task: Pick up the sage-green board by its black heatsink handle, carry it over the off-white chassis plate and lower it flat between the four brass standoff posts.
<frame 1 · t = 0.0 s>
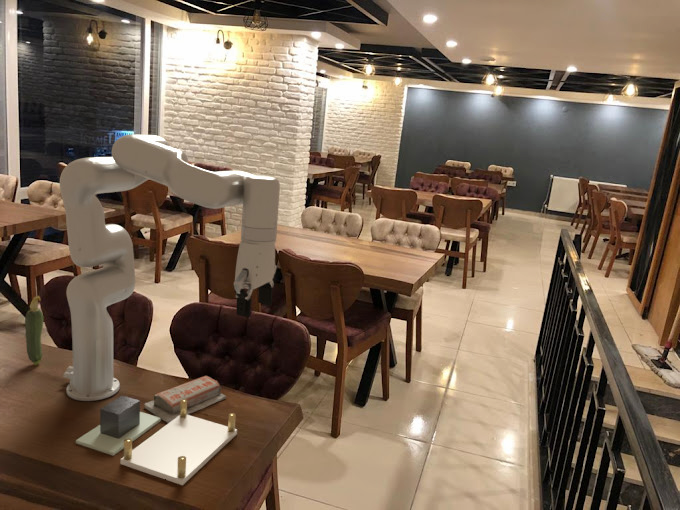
hand: (254, 309, 122), 31 cm above the table, tool pointing down, fingers open, 9 cm apart
chassis: (182, 448, 122), on the table
vegetable: (35, 364, 155), on the table
board: (120, 433, 127), on the table
packaged product: (186, 405, 142), on the table
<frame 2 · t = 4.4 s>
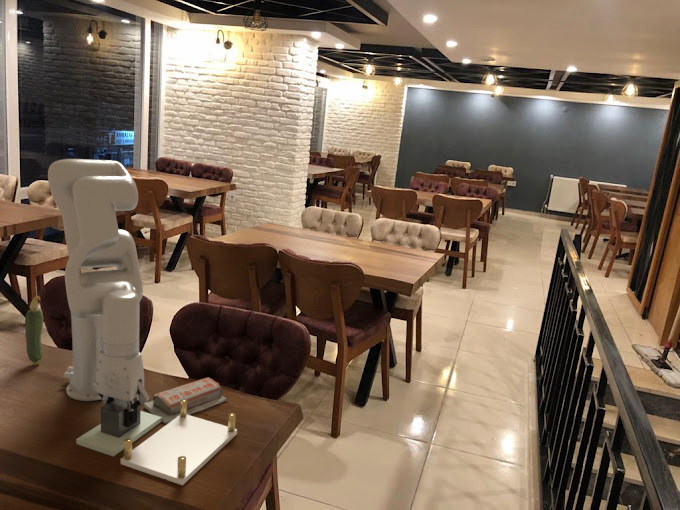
hand: (121, 420, 126), 3 cm above the table, tool pointing down, fingers closed on board, 5 cm apart
board: (121, 432, 126), on the table, touching gripper
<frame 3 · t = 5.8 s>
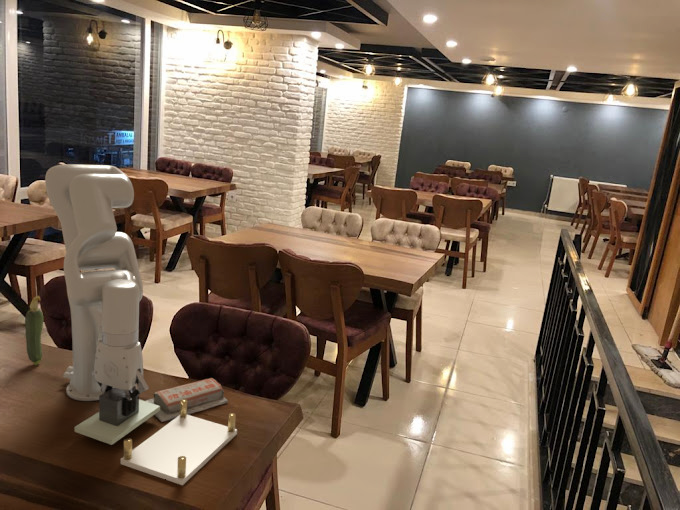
hand: (119, 409, 126), 5 cm above the table, tool pointing down, fingers closed on board, 5 cm apart
board: (119, 420, 126), point 2 cm above the table, touching gripper
when the fingers open (5 cm above the table, at t = 13.3 s): board stays where it is, resting on chassis.
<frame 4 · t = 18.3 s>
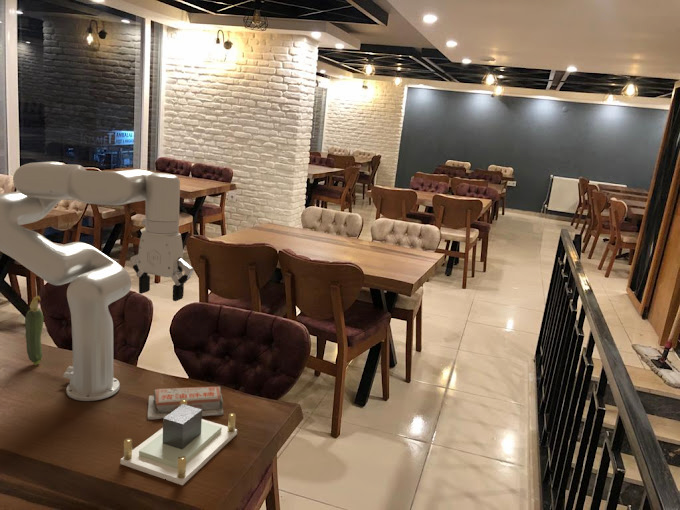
hand: (160, 295, 134), 28 cm above the table, tool pointing down, fingers open, 9 cm apart
board: (182, 443, 122), point 1 cm above the table, touching chassis
packaged product: (185, 409, 140), on the table, touching chassis
everything else where it was.
at the end: board 0.1 cm off-centre on the chassis, point 1.2 cm above the chassis's base; board tilted 0°; the gripper is holding nothing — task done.
